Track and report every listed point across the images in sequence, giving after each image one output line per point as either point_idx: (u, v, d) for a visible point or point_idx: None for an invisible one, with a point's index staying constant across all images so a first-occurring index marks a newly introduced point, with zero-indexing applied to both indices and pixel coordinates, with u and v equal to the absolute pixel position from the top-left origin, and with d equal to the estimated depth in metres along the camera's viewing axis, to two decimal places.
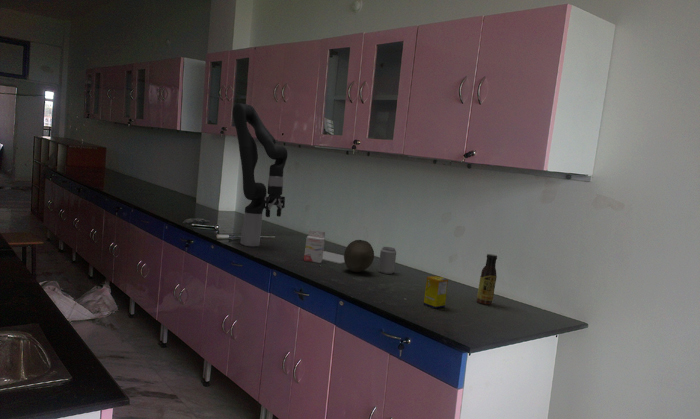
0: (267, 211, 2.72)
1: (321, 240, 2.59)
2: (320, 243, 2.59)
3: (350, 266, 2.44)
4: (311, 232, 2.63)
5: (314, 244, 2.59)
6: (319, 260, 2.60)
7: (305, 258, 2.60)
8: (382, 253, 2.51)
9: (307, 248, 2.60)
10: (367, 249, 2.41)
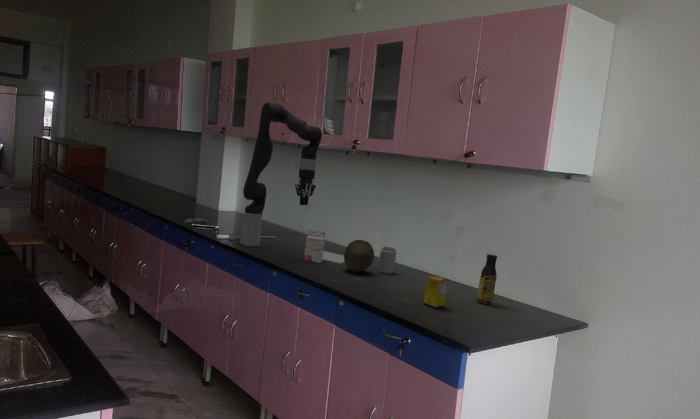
0: (302, 199, 2.53)
1: (321, 240, 2.59)
2: (320, 243, 2.59)
3: (350, 266, 2.44)
4: (311, 232, 2.63)
5: (314, 244, 2.59)
6: (319, 260, 2.60)
7: (305, 258, 2.60)
8: (382, 253, 2.51)
9: (307, 248, 2.60)
10: (367, 249, 2.41)
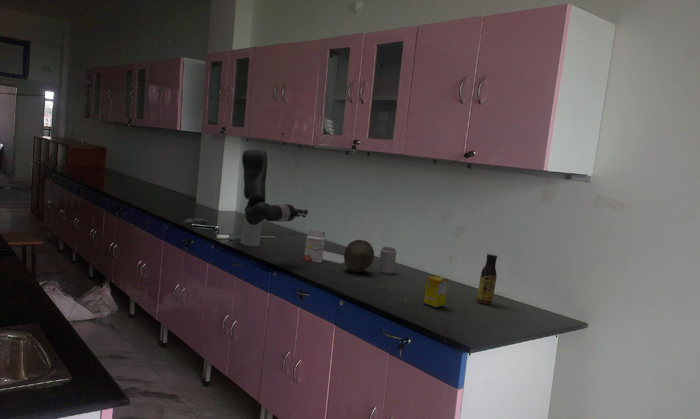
0: None
1: (321, 240, 2.59)
2: (320, 243, 2.59)
3: (350, 266, 2.44)
4: (311, 232, 2.63)
5: (314, 244, 2.59)
6: (319, 260, 2.60)
7: (305, 258, 2.60)
8: (382, 253, 2.51)
9: (307, 248, 2.60)
10: (367, 249, 2.41)
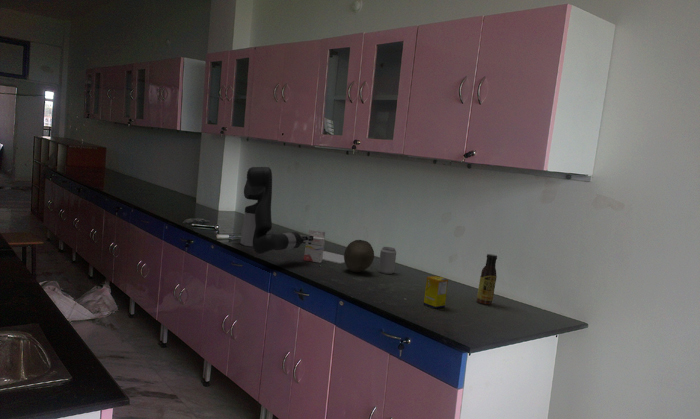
0: None
1: (321, 240, 2.59)
2: (320, 243, 2.59)
3: (350, 266, 2.44)
4: (311, 232, 2.64)
5: (314, 244, 2.59)
6: (319, 260, 2.60)
7: (305, 258, 2.60)
8: (382, 253, 2.51)
9: (307, 247, 2.60)
10: (367, 249, 2.41)
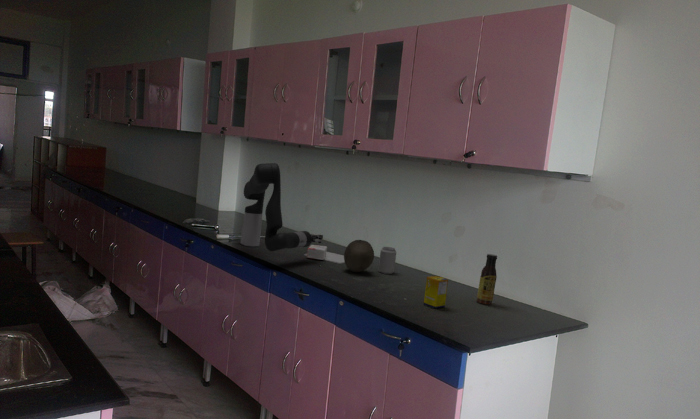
0: None
1: (325, 246, 2.75)
2: (324, 246, 2.74)
3: (350, 266, 2.44)
4: None
5: (318, 246, 2.73)
6: (323, 250, 2.65)
7: (309, 248, 2.66)
8: (382, 253, 2.51)
9: (311, 246, 2.71)
10: (367, 249, 2.41)
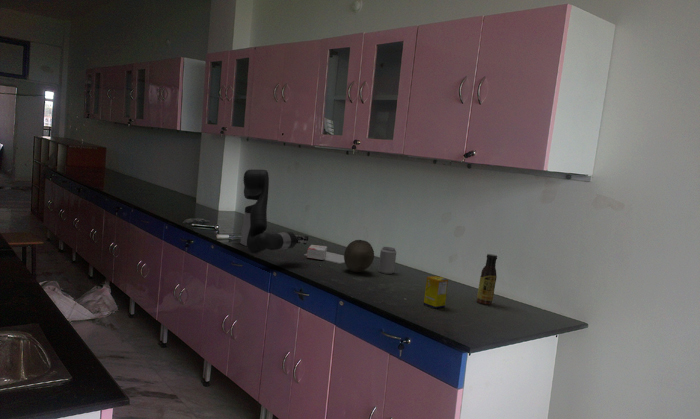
0: None
1: (325, 246, 2.75)
2: (324, 247, 2.74)
3: (350, 266, 2.44)
4: None
5: (318, 246, 2.73)
6: (323, 250, 2.65)
7: (309, 248, 2.66)
8: (382, 253, 2.51)
9: (311, 246, 2.71)
10: (367, 249, 2.41)
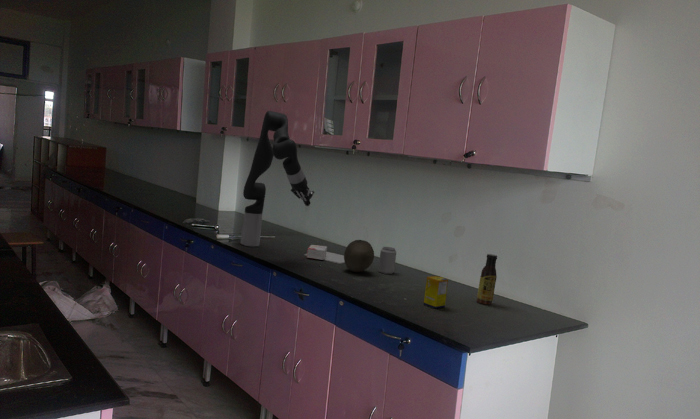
0: (303, 200, 2.55)
1: (325, 246, 2.75)
2: (324, 247, 2.74)
3: (350, 266, 2.44)
4: None
5: (318, 246, 2.73)
6: (323, 250, 2.65)
7: (309, 248, 2.66)
8: (382, 253, 2.51)
9: (311, 246, 2.71)
10: (367, 249, 2.41)
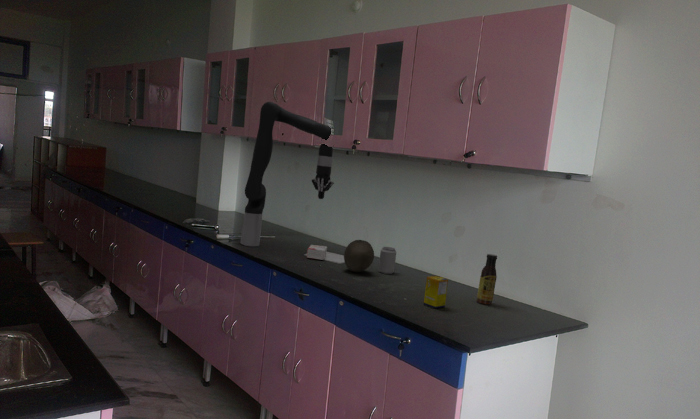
0: (318, 192, 2.78)
1: (325, 246, 2.75)
2: (324, 247, 2.74)
3: (350, 266, 2.44)
4: None
5: (318, 246, 2.73)
6: (323, 250, 2.65)
7: (309, 248, 2.66)
8: (382, 253, 2.51)
9: (311, 246, 2.71)
10: (367, 249, 2.41)
